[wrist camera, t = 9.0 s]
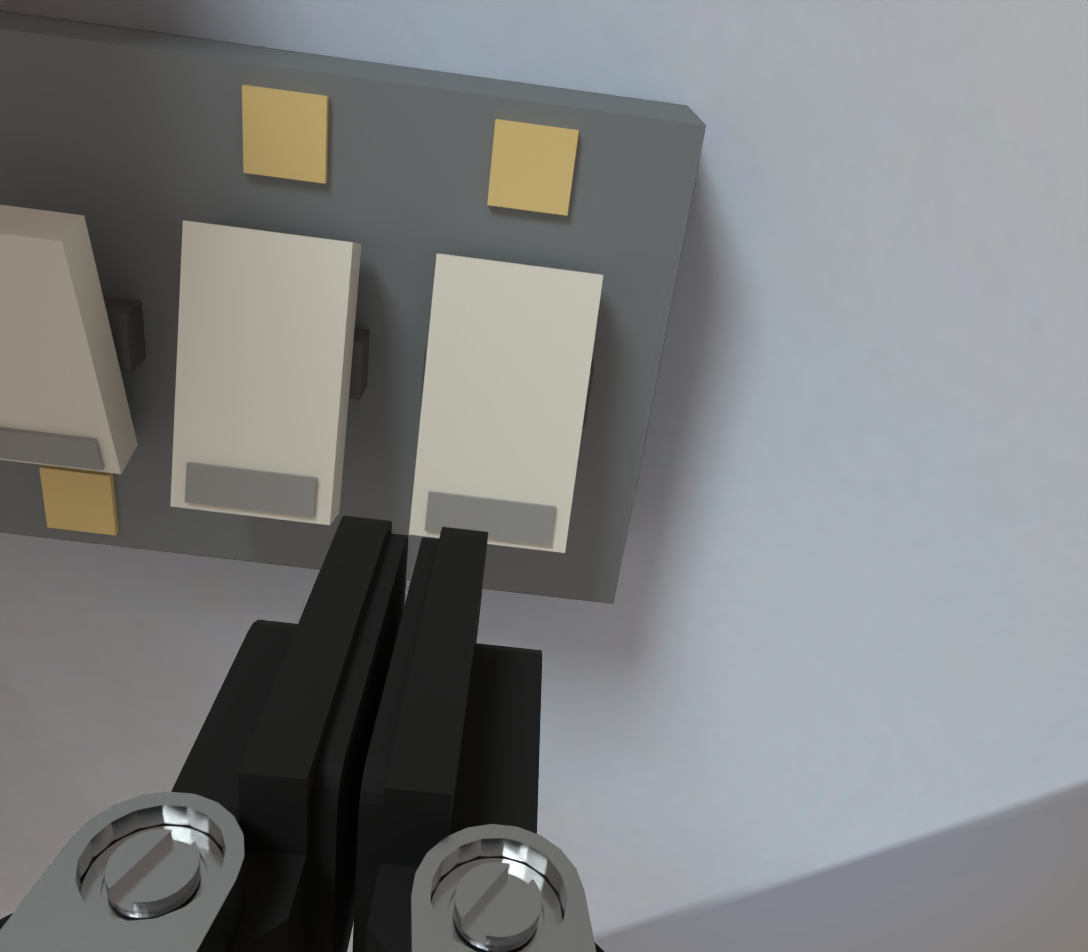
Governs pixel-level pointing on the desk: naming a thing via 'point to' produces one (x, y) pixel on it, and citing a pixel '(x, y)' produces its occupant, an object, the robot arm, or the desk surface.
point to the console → (353, 216)
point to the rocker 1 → (57, 349)
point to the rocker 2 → (263, 372)
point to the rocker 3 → (504, 400)
